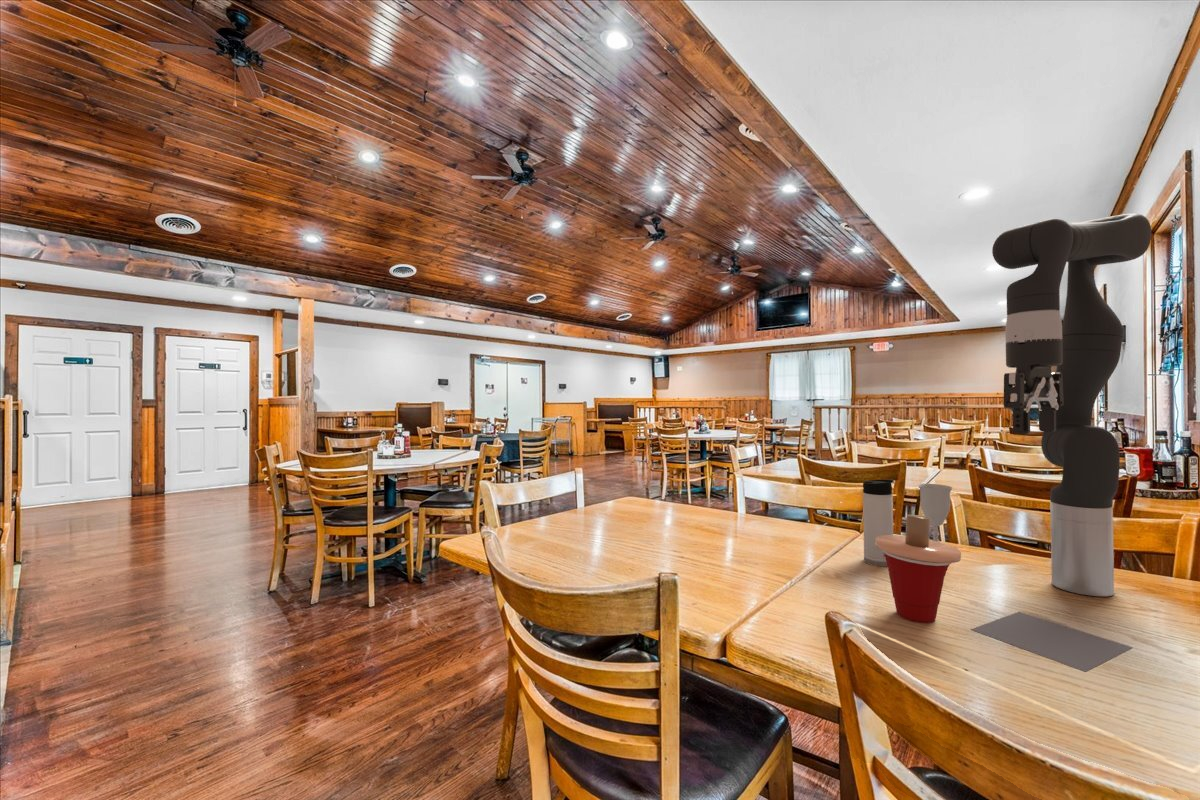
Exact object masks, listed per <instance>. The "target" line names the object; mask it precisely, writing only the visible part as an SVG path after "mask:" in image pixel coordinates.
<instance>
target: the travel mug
mask: <svg viewBox="0 0 1200 800" xmlns="http://www.w3.org/2000/svg"><path fill="white" fill-rule="evenodd" d="M892 484H895V480H894V479H893V478H890V479H870V480H869V479H868V480H865V481H864V482H863V483H862V514H863V515H862V516H863V517H862V520H863V521H862V522H863V526H862V527H863V529H862V530H863V561H864V562H865V563H867V564H868V563H869V565H871V564H872V566H875V565H877V566H876V567H887V561H886V558H885V555H884V552H883V551H882V550H881V549H879V548H877V547H876V545H875V544H876V537H877V536H881V535H894V513H893V512H894V508H893V506H894V501H893V499H894V497H893V486H892Z"/></svg>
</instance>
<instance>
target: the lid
mask: <svg viewBox="0 0 1200 800" xmlns="http://www.w3.org/2000/svg"><path fill="white" fill-rule="evenodd" d="M905 519H906V520H905V521H906V522H905V535H899V534H898V535H897V534H893V535H881V536H877V537H876V544H875V545H876V547H877V548H879V549H881V550H883V551H885V552H888V553H891V554H894V555H897V556H901V557H905V558H909V559H914V560H920V561H927V562H936V563H951V564H956V563H959V562H960V561H961V560H962V551H961V550H960V549H958V548H956V547H955V546H953V545H949V544H947V543H943V542H941V541H940V542H936V541H932V540H933V539H932V540H931V539H930V532H931V531H930V528H931V524H930V518H928V517H925V515H919V514H906V518H905Z"/></svg>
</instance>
